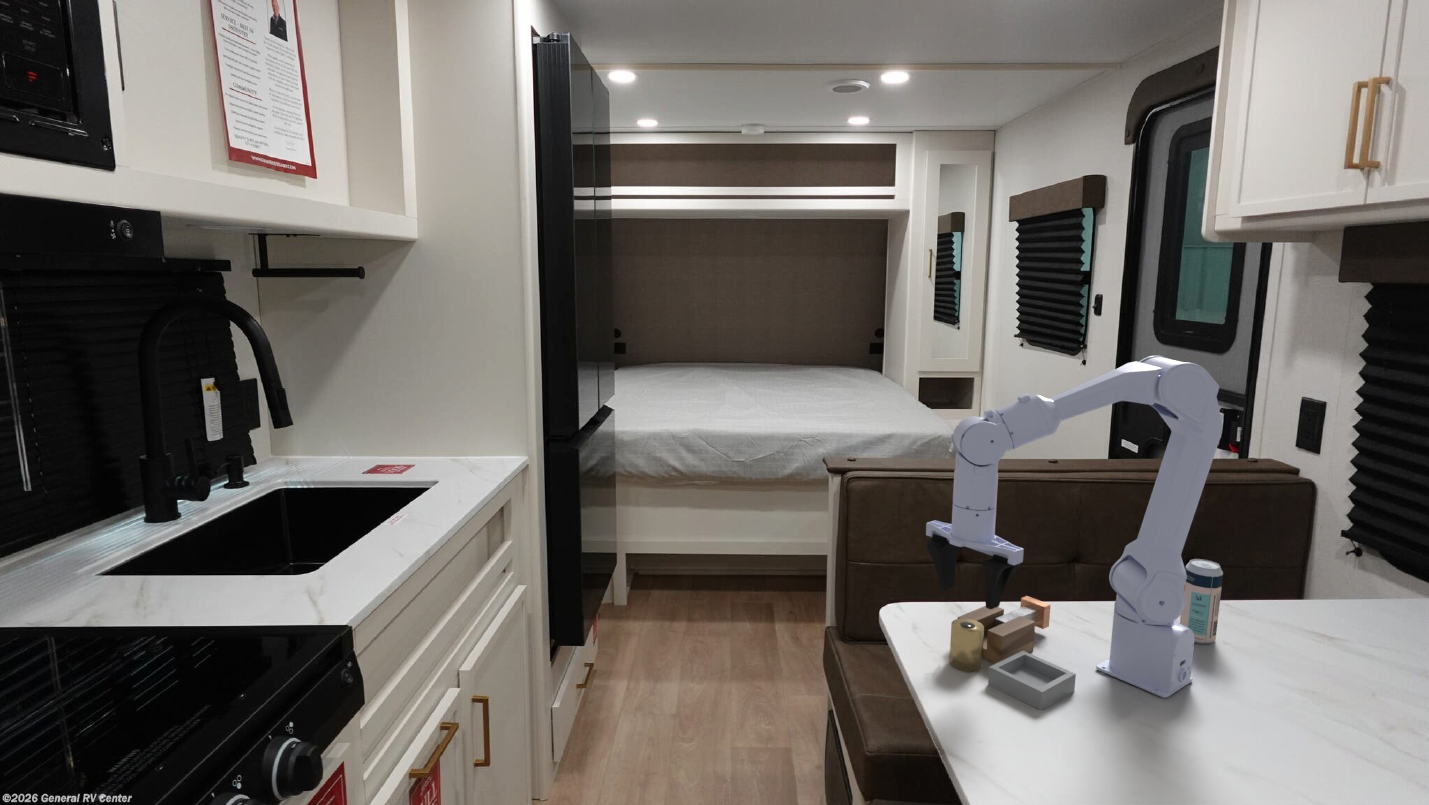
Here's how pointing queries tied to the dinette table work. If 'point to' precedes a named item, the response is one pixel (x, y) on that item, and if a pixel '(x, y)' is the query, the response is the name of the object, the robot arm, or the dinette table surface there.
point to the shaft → (1029, 612)
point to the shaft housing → (1003, 634)
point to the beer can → (1202, 599)
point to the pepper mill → (966, 645)
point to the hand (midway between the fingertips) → (969, 597)
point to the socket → (1032, 679)
